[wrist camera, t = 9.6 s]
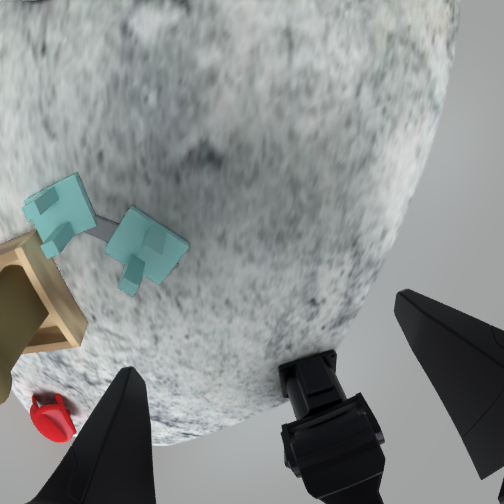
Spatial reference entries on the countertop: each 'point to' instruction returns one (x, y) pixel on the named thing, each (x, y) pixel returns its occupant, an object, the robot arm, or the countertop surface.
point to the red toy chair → (53, 420)
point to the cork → (16, 320)
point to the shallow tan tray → (46, 295)
